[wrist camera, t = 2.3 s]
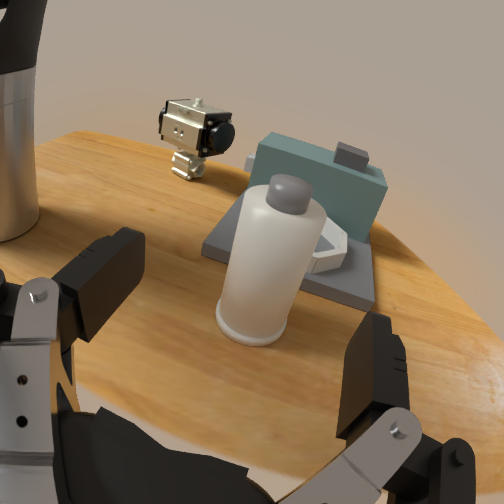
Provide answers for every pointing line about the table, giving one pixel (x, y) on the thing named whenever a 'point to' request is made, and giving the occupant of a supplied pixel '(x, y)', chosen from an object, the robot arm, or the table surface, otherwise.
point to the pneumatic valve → (195, 134)
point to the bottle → (269, 259)
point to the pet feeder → (335, 205)
